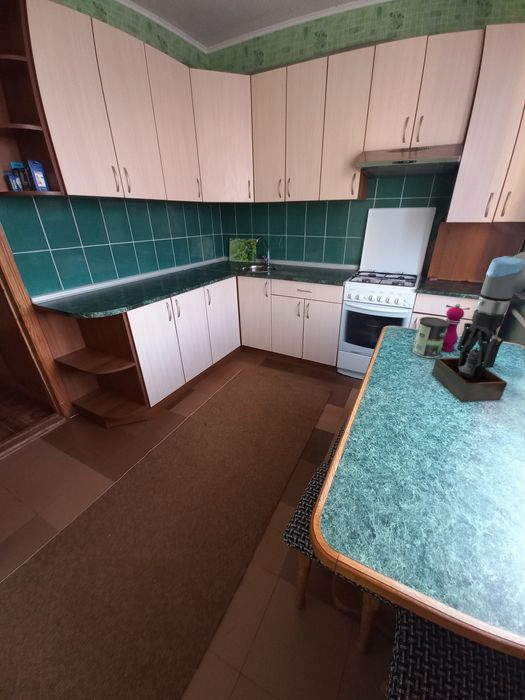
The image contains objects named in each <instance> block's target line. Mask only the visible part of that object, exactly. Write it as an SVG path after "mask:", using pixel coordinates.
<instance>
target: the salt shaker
mask: <svg viewBox="0 0 525 700" xmlns="http://www.w3.org/2000/svg"><path fill="white" fill-rule="evenodd" d="M478 354H479V347H475V348H473V349H472V350H471V351H470V353H469V354H468V355H469V356H468V358H466V360H467V361H466V364H465V365H464V366H460V367H459V373H460V375H459V376H460V377H462V378H463V379H464V380H465V381H467V382H468V383H469V380H470V377H471V374H472V371H473V369H474V366H475V365H477V363H478Z"/></svg>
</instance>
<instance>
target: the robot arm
mask: <svg viewBox="0 0 525 700" xmlns="http://www.w3.org/2000/svg"><path fill="white" fill-rule="evenodd" d="M514 294H525V250H524V251H522V252H520V253H517V254H515V255H505V256H504V255H503V256H501V257H495V258H494V259H492V260H491V262H490V264H489V266H488V269H487V271H486V273H485V278H484V281H483V284H482V287H481V289H480V294H479V297H478V300H477V302H476V306H475V310H474V311H473V314H472V316H471V317H472V318H471V322H464V325H463V331H462V333H461V336H460V338H459V340H458V344H457V347H456V350H457V351H459V357H458V358H459V361H458V362H459V363H458V366H457V369H456V372H457V373H459V367H460V366H464V365H465V364H466V361H467V360H466V358H468V356H469V353H470V351H471V350H473V349H474V347H475V346H476V344H477V345H478V350H479V354H478V365H475V366H474V369H473V371H472V374H471V377H470V380H469V383H478V382H479V380H480V377H481V376H482V375H483V373H484V371H485V368H487V369H491V368H494V365H495V362H496V359H497V356H498V353H499V351H500V347H501V345H502V344H503V343H504V338H502V337H499V336H498V329H499V328H501V326H502V324H503V322H504V319H505V317H506V315H505V314H506V313H507V312H508V310H509V306H510V303H511V302H512V298H513V296H514Z"/></svg>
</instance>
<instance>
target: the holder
mask: <svg viewBox="0 0 525 700" xmlns="http://www.w3.org/2000/svg"><path fill="white" fill-rule="evenodd" d="M458 361H459V357H443V358H439V357H438V358H435V361H434V365H433V367H432V371H431V375H432V376H433V377H434V378H435V379H436V380H437V381H438V382H439V383H440V384H441V385H443V387H444V388H446V389H447V390H448V391H449V393H451V394H452V395H453V396H454V397H456V399H458V400H459V401H460V402H461V403H466V402H467V403H469V402H488V401H501V399H502V396H503V395H504V392H505V390H506V387H507V385H508V382H507V381H506V380H504V379H503V378H501V377H500V376H498V375H497V374H496V373H494V372H493V371H491V370H490V369H489V368H485V371H484V373H483V375H482V376H481V377H480V380H479V382H478V383H468V382H467V381H465V380H464V379H463V378H462V377H460V376H459V375H460V373H457V372H456V369H457V366H458V363H459V362H458ZM477 365H478V363H477Z"/></svg>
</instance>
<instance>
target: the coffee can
mask: <svg viewBox="0 0 525 700" xmlns="http://www.w3.org/2000/svg"><path fill="white" fill-rule="evenodd" d="M448 326H449V322H448V321H446V319H443V318H441V317H434V316H424V317H420V319H419V322H418V327H417V331H416V336H415V338H414V339H415V340H414V344H413V348H412V352H413V354H415V355H416V356H418V357H422V358H426V359H438V358H439V357H440V356H441V352H442V350H441V349H442V345H443V342H444V339H445V335H446V332H447V328H448Z"/></svg>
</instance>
